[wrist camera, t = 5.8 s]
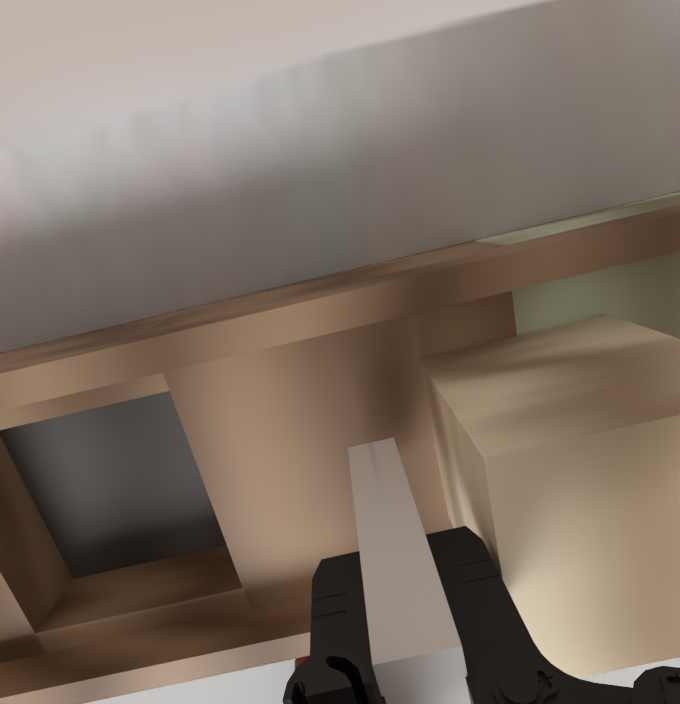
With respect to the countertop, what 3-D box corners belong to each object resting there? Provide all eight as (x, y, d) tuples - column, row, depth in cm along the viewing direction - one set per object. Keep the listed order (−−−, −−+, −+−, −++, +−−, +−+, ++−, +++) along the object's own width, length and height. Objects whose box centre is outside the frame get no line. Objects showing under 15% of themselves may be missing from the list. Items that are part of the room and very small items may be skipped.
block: (448, 515, 16) (519, 688, 10) (418, 358, 14) (483, 458, 8) (617, 478, 15) (791, 634, 10) (608, 314, 14) (814, 384, 8)
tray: (-155, 661, 20) (-392, 880, 13) (-328, 431, 17) (-763, 572, 10) (716, 471, 19) (930, 607, 12) (723, 181, 16) (1028, 151, 9)
